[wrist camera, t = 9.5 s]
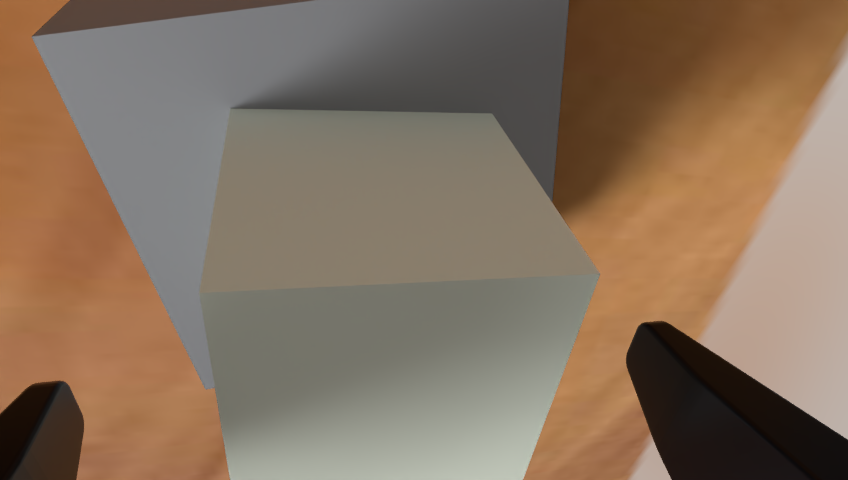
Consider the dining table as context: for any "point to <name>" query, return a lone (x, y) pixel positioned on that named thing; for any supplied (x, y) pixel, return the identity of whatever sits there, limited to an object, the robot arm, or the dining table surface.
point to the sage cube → (385, 297)
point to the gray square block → (279, 96)
